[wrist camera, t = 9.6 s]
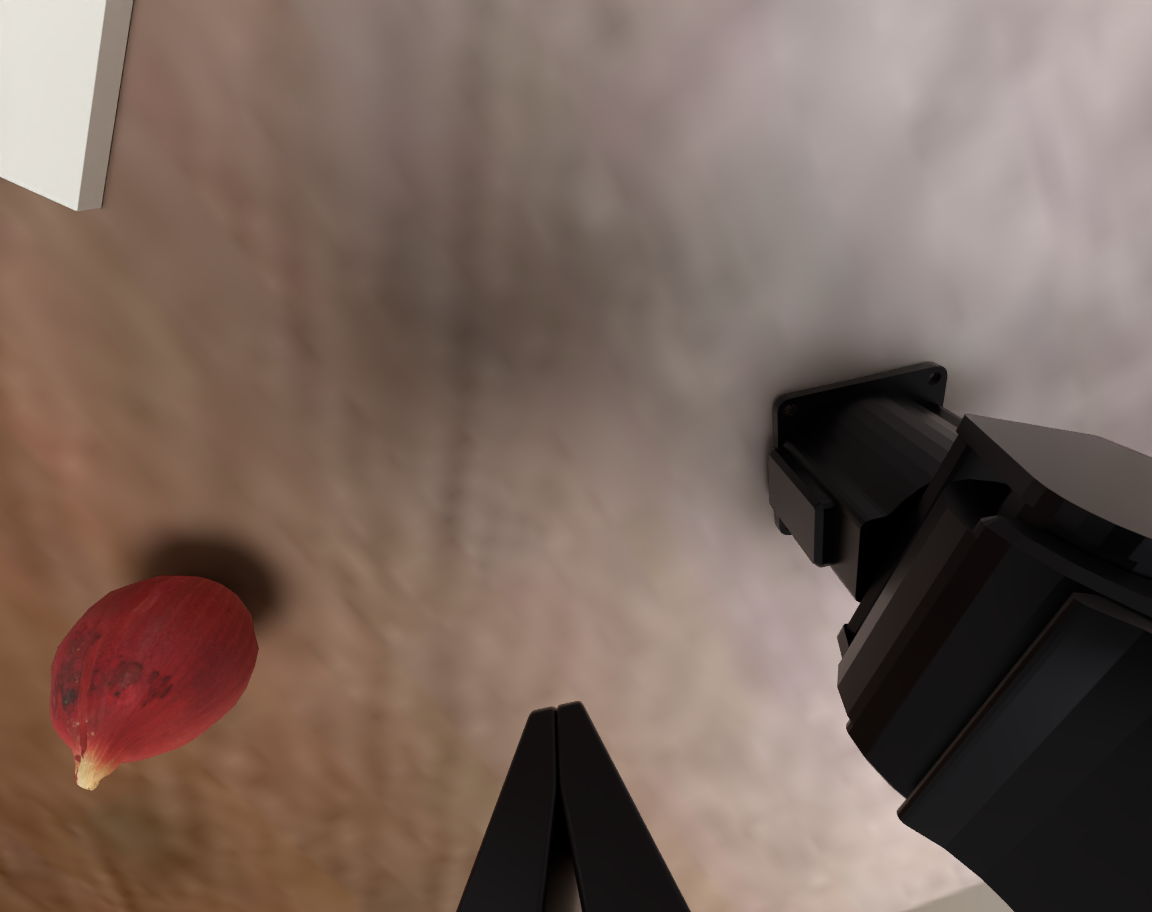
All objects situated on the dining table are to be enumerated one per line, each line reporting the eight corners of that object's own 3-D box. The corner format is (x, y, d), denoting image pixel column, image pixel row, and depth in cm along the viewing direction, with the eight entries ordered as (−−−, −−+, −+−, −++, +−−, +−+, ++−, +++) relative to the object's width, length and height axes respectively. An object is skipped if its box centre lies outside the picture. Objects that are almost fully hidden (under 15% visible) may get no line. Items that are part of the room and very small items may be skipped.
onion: (100, 560, 22) (-97, 752, 15) (230, 513, 21) (91, 689, 14) (196, 654, 24) (69, 854, 18) (313, 615, 24) (230, 804, 17)
